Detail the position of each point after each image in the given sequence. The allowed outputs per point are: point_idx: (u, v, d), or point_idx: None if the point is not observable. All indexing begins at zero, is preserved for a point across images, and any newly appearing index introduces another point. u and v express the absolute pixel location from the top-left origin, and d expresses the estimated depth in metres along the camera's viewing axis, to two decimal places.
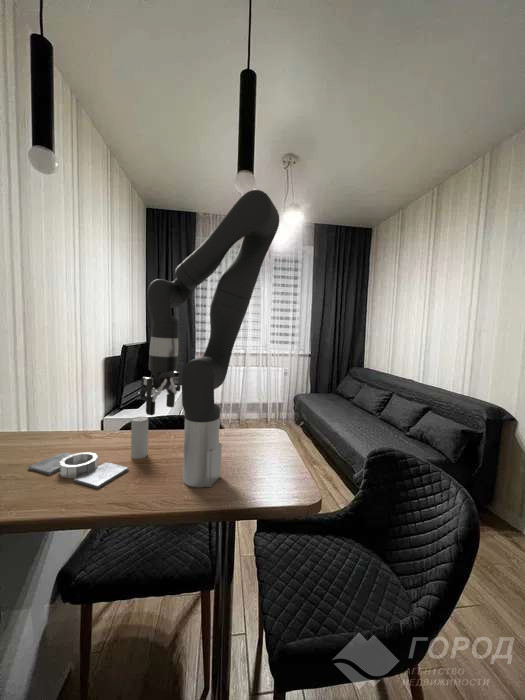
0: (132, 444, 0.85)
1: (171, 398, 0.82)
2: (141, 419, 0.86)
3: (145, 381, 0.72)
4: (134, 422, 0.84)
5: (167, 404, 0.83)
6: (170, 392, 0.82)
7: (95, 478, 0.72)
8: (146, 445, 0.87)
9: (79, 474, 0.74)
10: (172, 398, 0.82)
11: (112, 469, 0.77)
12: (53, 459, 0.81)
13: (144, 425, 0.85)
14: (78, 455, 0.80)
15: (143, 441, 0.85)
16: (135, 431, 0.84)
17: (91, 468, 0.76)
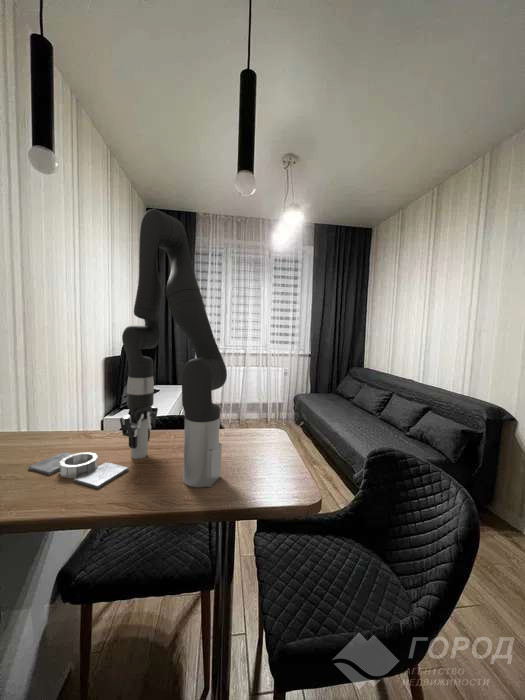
0: None
1: None
2: None
3: (123, 422, 0.80)
4: None
5: None
6: None
7: (95, 478, 0.72)
8: (146, 445, 0.87)
9: (79, 474, 0.74)
10: None
11: (112, 469, 0.77)
12: (53, 459, 0.81)
13: (144, 425, 0.85)
14: (78, 455, 0.80)
15: (143, 441, 0.85)
16: None
17: (91, 468, 0.76)
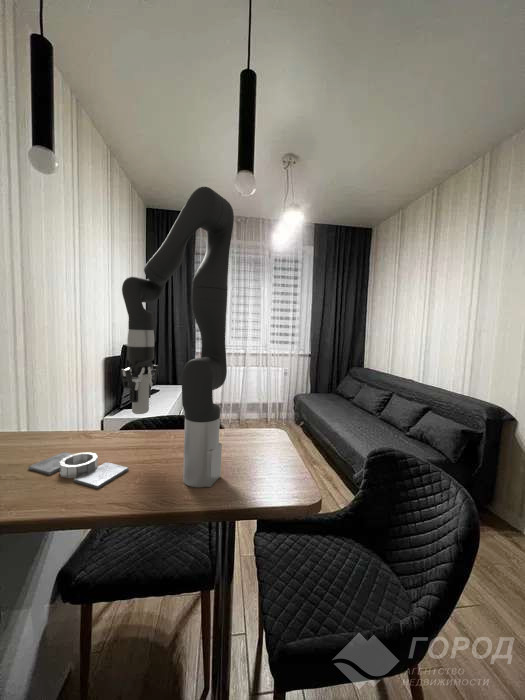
0: None
1: None
2: None
3: (124, 373, 0.79)
4: None
5: None
6: None
7: (95, 478, 0.72)
8: (147, 400, 0.86)
9: (79, 474, 0.74)
10: None
11: (112, 469, 0.77)
12: (53, 459, 0.81)
13: (145, 380, 0.84)
14: (78, 455, 0.80)
15: (144, 396, 0.84)
16: None
17: (91, 468, 0.76)
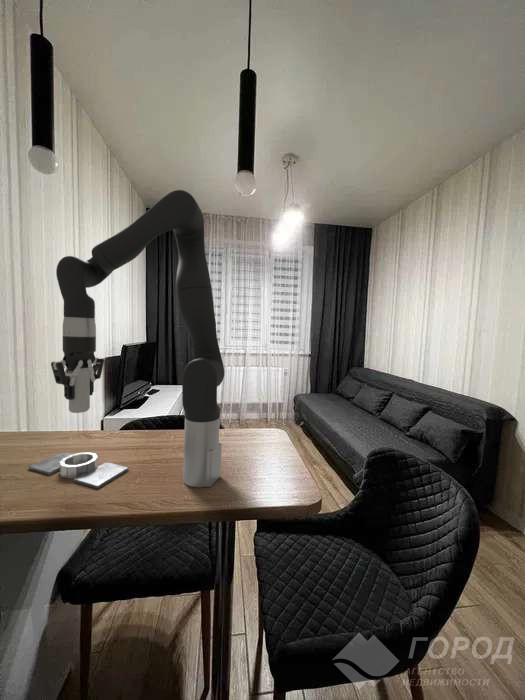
0: None
1: None
2: None
3: (54, 366, 0.69)
4: None
5: None
6: None
7: (95, 478, 0.72)
8: (87, 398, 0.76)
9: (79, 474, 0.74)
10: None
11: (112, 469, 0.77)
12: (53, 459, 0.81)
13: (83, 374, 0.74)
14: (78, 455, 0.80)
15: (82, 392, 0.75)
16: None
17: (91, 468, 0.76)
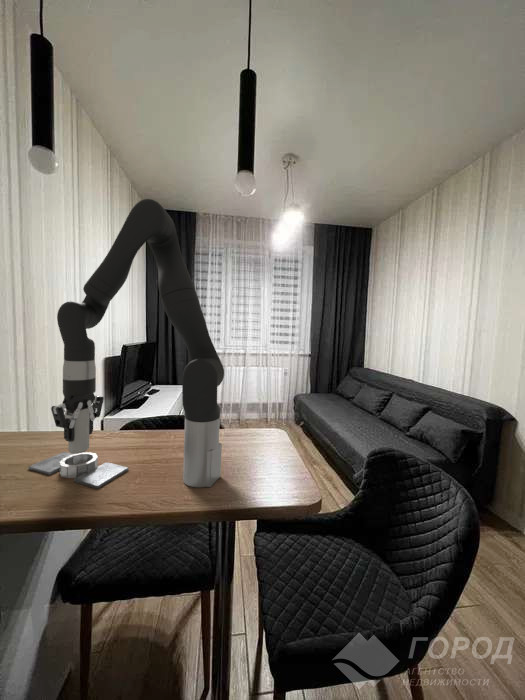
0: None
1: None
2: None
3: (55, 411, 0.70)
4: None
5: None
6: None
7: (95, 478, 0.72)
8: (86, 438, 0.77)
9: (79, 474, 0.74)
10: (89, 425, 0.79)
11: (112, 469, 0.77)
12: (53, 459, 0.81)
13: (83, 415, 0.75)
14: (78, 455, 0.80)
15: (82, 433, 0.75)
16: None
17: (91, 468, 0.76)
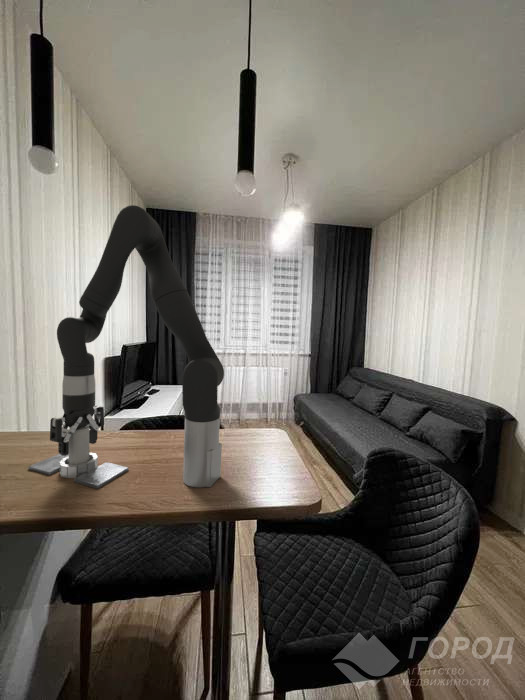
0: (69, 456, 0.75)
1: (92, 434, 0.80)
2: (80, 428, 0.77)
3: (54, 422, 0.70)
4: None
5: (89, 440, 0.81)
6: (91, 428, 0.81)
7: (95, 478, 0.72)
8: (86, 457, 0.77)
9: (79, 474, 0.74)
10: (93, 434, 0.80)
11: (112, 469, 0.77)
12: (53, 459, 0.81)
13: (83, 435, 0.76)
14: None
15: (82, 453, 0.76)
16: (72, 441, 0.75)
17: (91, 468, 0.76)
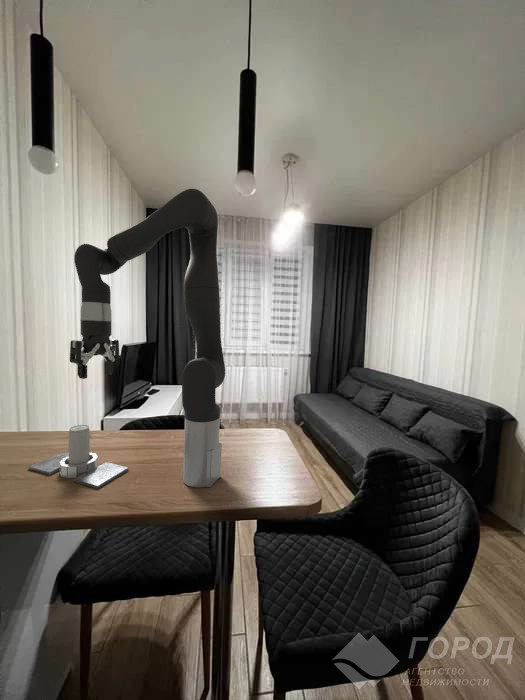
0: (69, 456, 0.75)
1: (109, 365, 0.83)
2: (80, 428, 0.77)
3: (74, 344, 0.73)
4: (71, 432, 0.75)
5: (105, 371, 0.84)
6: (108, 359, 0.84)
7: (95, 478, 0.72)
8: (86, 457, 0.77)
9: (79, 474, 0.74)
10: (110, 365, 0.83)
11: (112, 469, 0.77)
12: (53, 459, 0.81)
13: (83, 435, 0.76)
14: None
15: (82, 453, 0.76)
16: (72, 441, 0.75)
17: (91, 468, 0.76)
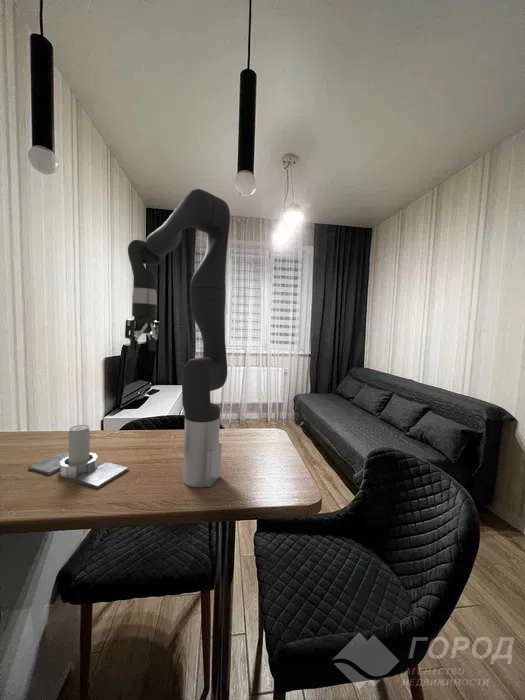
0: (69, 456, 0.75)
1: (153, 343, 0.98)
2: (80, 428, 0.77)
3: (128, 322, 0.87)
4: (71, 432, 0.75)
5: (149, 348, 0.98)
6: (152, 338, 0.98)
7: (95, 478, 0.72)
8: (86, 457, 0.77)
9: (79, 474, 0.74)
10: (153, 343, 0.98)
11: (112, 469, 0.77)
12: (53, 459, 0.81)
13: (83, 435, 0.76)
14: None
15: (82, 453, 0.76)
16: (72, 442, 0.75)
17: (91, 468, 0.76)
